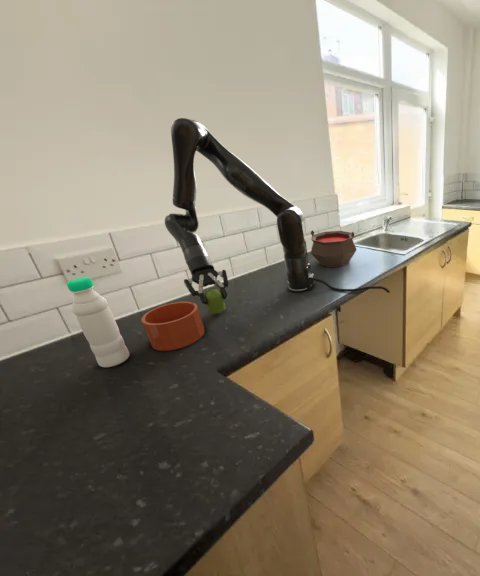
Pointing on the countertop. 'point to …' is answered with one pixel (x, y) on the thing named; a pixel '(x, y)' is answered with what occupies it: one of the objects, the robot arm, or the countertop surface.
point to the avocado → (215, 301)
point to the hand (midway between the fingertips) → (215, 300)
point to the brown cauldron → (333, 247)
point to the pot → (173, 325)
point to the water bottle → (97, 323)
